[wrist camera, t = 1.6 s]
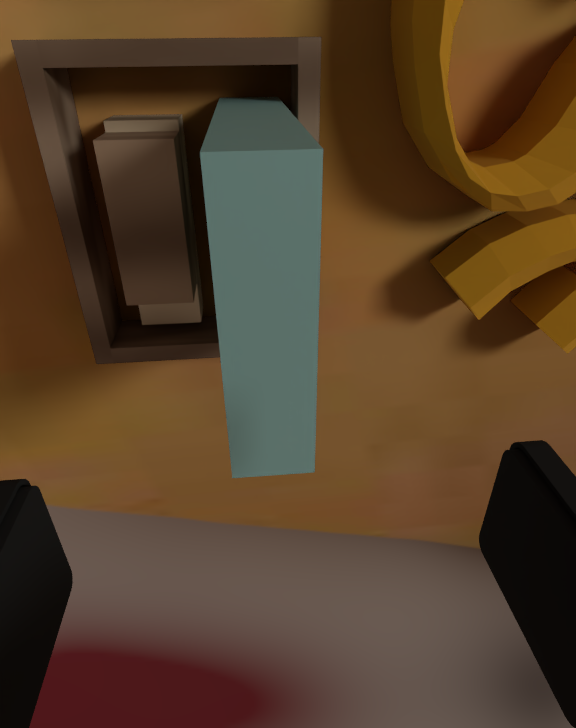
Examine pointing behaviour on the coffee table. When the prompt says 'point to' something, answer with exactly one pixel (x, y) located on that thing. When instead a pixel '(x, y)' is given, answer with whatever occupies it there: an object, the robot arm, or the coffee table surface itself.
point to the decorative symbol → (497, 176)
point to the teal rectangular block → (265, 279)
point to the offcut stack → (151, 215)
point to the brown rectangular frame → (73, 181)
